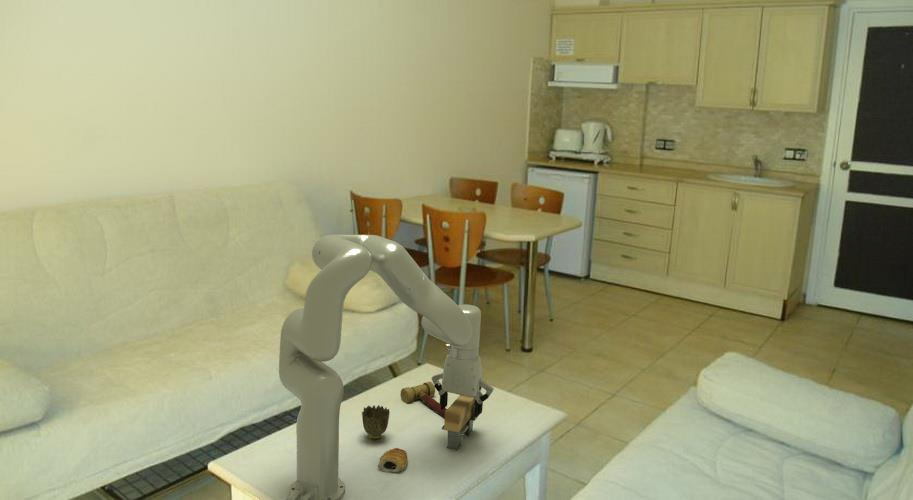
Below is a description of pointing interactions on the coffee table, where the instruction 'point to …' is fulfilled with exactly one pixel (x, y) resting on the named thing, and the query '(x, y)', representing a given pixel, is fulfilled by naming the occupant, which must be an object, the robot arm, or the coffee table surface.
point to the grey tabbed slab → (455, 438)
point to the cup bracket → (470, 423)
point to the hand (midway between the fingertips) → (460, 411)
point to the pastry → (393, 460)
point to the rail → (459, 413)
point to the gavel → (423, 396)
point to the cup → (375, 421)
